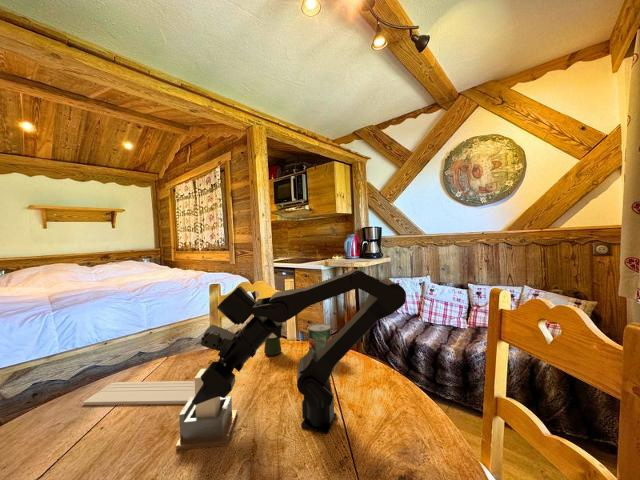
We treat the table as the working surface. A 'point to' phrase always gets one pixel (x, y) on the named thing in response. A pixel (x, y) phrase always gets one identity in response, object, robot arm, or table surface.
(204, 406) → the cream rectangular block
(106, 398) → the baseboard molding
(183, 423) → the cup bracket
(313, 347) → the canned tomato
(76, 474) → the table surface
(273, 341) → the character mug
